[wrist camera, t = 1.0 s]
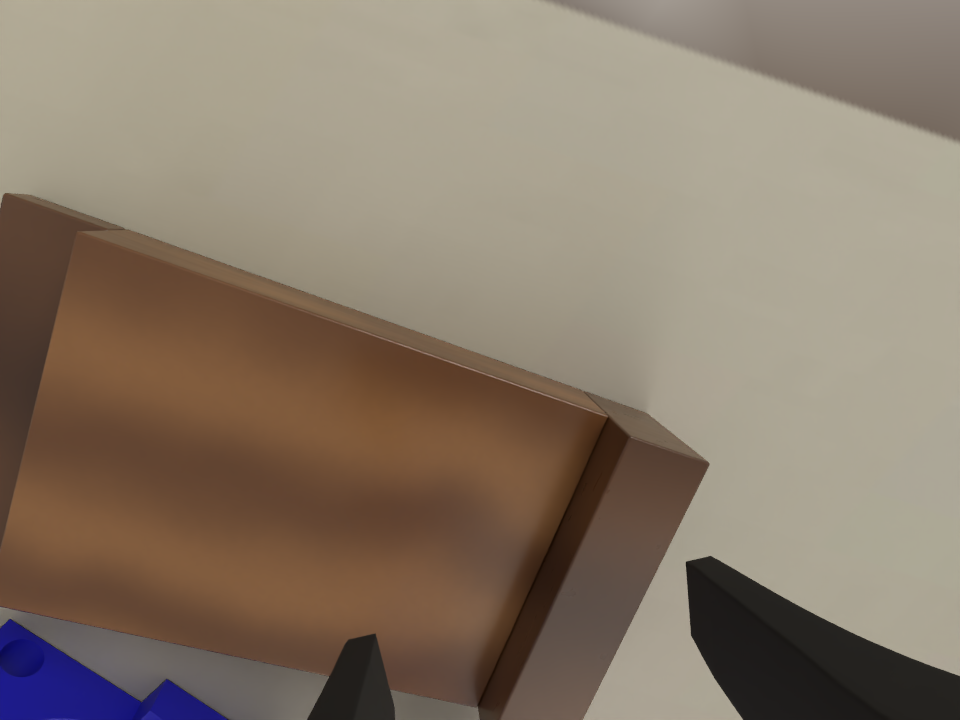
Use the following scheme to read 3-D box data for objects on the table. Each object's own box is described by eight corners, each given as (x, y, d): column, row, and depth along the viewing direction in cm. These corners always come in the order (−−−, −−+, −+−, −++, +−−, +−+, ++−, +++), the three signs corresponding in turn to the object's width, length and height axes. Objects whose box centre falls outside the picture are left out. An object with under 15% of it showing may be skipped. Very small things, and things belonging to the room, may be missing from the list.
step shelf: (531, 665, 25) (560, 767, 20) (-46, 529, 20) (-183, 622, 15) (648, 413, 22) (711, 463, 18) (28, 193, 18) (-106, 184, 13)
